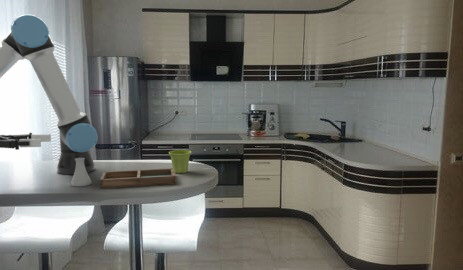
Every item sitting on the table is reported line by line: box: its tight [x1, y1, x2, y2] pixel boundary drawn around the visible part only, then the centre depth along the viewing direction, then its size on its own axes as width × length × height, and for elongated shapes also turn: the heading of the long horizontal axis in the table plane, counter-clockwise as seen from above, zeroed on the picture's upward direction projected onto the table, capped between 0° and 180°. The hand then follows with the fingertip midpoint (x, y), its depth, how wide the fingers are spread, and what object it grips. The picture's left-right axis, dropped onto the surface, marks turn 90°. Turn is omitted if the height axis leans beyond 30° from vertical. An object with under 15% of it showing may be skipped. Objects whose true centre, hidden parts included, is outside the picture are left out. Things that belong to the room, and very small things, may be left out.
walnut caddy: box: [99, 167, 177, 189], centre depth 146 cm, size 14×27×3 cm, turn 103°
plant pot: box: [168, 149, 192, 174], centre depth 162 cm, size 9×9×9 cm
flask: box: [69, 158, 92, 188], centre depth 141 cm, size 7×7×10 cm
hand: (45, 140), depth 137 cm, fingers open, 13 cm apart
